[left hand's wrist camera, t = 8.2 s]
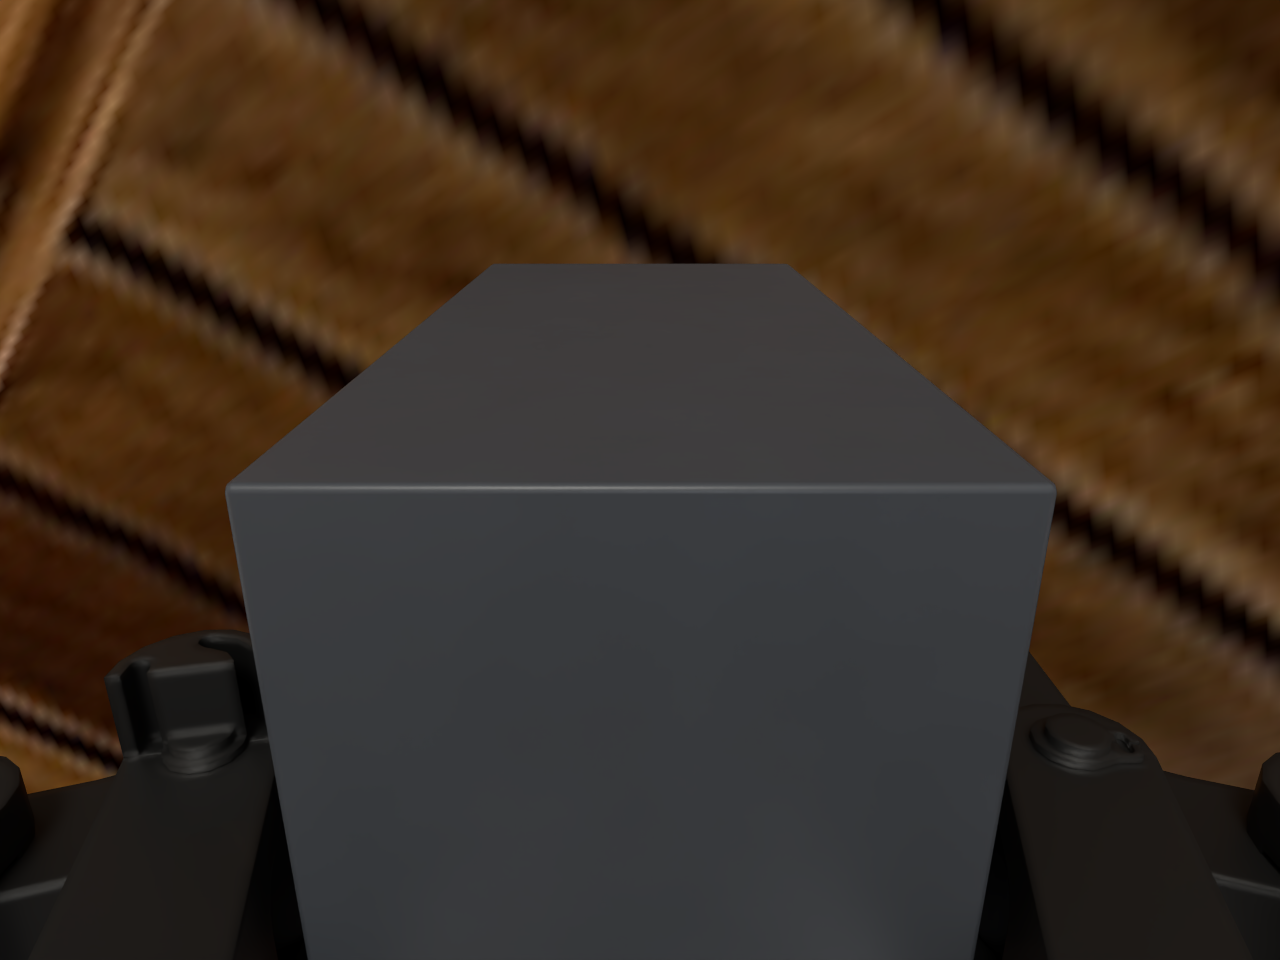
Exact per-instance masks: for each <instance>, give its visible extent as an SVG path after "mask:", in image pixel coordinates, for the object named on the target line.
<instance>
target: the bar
mask: <svg viewBox="0 0 1280 960" xmlns="http://www.w3.org/2000/svg"><path fill="white" fill-rule="evenodd" d="M1056 494H1057V491H1056V487H1055V484H1054V483H1053V482H1051V481H1050V480H1049V479H1048V478H1047V477H1045V476H1044V475H1043V474H1042V473H1041V472H1039V471H1038V470H1037V469H1036V468H1034V467H1033V466H1032V465H1031V464H1030V463H1028V462H1027V461H1026V460H1025V459H1024V458H1022V457H1021V456H1020V455H1019V454H1017V453H1016V452H1015V451H1014V450H1013V449H1011V448H1010V447H1009V446H1008V445H1007V444H1005V443H1004V442H1003V441H1002V440H1000V439H999V438H998V437H997V436H996V435H994V434H993V433H992V432H991V431H990V430H988V429H987V428H986V427H985V426H984V425H982V424H981V423H980V422H979V421H977V420H976V419H975V418H974V417H973V416H971V415H970V414H969V413H968V412H967V411H965V410H964V409H963V408H962V407H960V406H959V405H958V404H957V403H956V402H954V401H953V400H952V399H951V398H950V397H948V396H947V395H946V394H945V393H943V392H942V391H941V390H940V389H939V388H937V387H936V386H935V385H934V384H933V383H931V382H930V381H929V380H928V379H926V378H925V377H924V376H923V375H922V374H920V373H919V372H918V371H917V370H916V369H914V368H913V367H912V366H911V365H909V364H908V363H907V362H906V361H905V360H903V359H902V358H901V357H900V356H899V355H897V354H896V353H895V352H894V351H892V350H891V349H890V348H889V347H888V346H886V345H885V344H884V343H883V342H882V341H880V340H879V339H878V338H877V337H875V336H874V335H873V334H872V333H871V332H869V331H868V330H867V329H866V328H865V327H863V326H862V325H861V324H860V323H858V322H857V321H856V320H855V319H854V318H852V317H851V316H850V315H849V314H848V313H846V312H845V311H844V310H843V309H841V308H840V307H839V306H838V305H837V304H835V303H834V302H833V301H832V300H831V299H829V298H828V297H827V296H826V295H824V294H823V293H822V292H821V291H820V290H818V289H817V288H816V287H815V286H814V285H812V284H811V283H810V282H809V281H807V280H806V279H805V278H804V277H803V276H801V275H800V274H799V273H798V272H797V271H795V270H794V269H793V268H792V267H790V266H789V265H787V264H493V265H491V266H490V267H489V268H487V269H486V270H485V271H484V272H483V273H481V274H480V275H479V276H478V277H477V278H475V279H474V280H473V281H472V282H471V283H469V284H468V285H467V286H466V287H465V288H463V289H462V290H461V291H460V292H459V293H457V294H456V295H455V296H454V297H452V298H451V299H450V300H449V301H448V302H446V303H445V304H444V305H443V306H442V307H440V308H439V309H438V310H437V311H436V312H434V313H433V314H432V315H431V316H430V317H428V318H427V319H426V320H425V321H423V322H422V323H421V324H420V325H419V326H417V327H416V328H415V329H414V330H413V331H411V332H410V333H409V334H408V335H407V336H405V337H404V338H403V339H402V340H401V341H399V342H398V343H397V344H396V345H395V346H393V347H392V348H391V349H390V350H388V351H387V352H386V353H385V354H384V355H382V356H381V357H380V358H379V359H378V360H376V361H375V362H374V363H373V364H372V365H370V366H369V367H368V368H367V369H366V370H364V371H363V372H362V373H361V374H360V375H358V376H357V377H356V378H355V379H353V380H352V381H351V382H350V383H349V384H347V385H346V386H345V387H344V388H343V389H341V390H340V391H339V392H338V393H337V394H335V395H334V396H333V397H332V398H331V399H329V400H328V401H327V402H326V403H324V404H323V405H322V406H321V407H320V408H318V409H317V410H316V411H315V412H314V413H312V414H311V415H310V416H309V417H308V418H306V419H305V420H304V421H303V422H302V423H300V424H299V425H298V426H297V427H296V428H294V429H293V430H292V431H291V432H289V433H288V434H287V435H286V436H285V437H283V438H282V439H281V440H280V441H279V442H277V443H276V444H275V445H274V446H273V447H271V448H270V449H269V450H268V451H267V452H265V453H264V454H263V455H262V456H261V457H259V458H258V459H257V460H256V461H254V462H253V463H252V464H251V465H250V466H248V467H247V468H246V469H245V470H244V471H242V472H241V473H240V474H239V475H238V476H236V477H235V478H234V479H233V480H232V481H230V482H229V483H228V484H227V486H226V490H225V495H226V501H227V507H228V512H229V518H230V523H231V529H232V535H233V540H234V546H235V552H236V557H237V563H238V569H239V574H240V580H241V586H242V591H243V597H244V602H245V608H246V614H247V619H248V625H249V631H250V636H251V642H252V648H253V653H254V659H255V665H256V670H257V676H258V681H259V687H260V693H261V698H262V704H263V710H264V715H265V721H266V727H267V732H268V738H269V744H270V749H271V755H272V760H273V766H274V772H275V777H276V783H277V789H278V794H279V800H280V806H281V811H282V817H283V823H284V828H285V834H286V839H287V845H288V851H289V856H290V862H291V868H292V873H293V879H294V885H295V890H296V896H297V902H298V907H299V913H300V918H301V924H302V930H303V935H304V941H305V947H306V952H307V958H308V960H974V954H975V949H976V943H977V938H978V932H979V926H980V921H981V915H982V910H983V904H984V898H985V893H986V887H987V881H988V876H989V870H990V865H991V859H992V853H993V848H994V842H995V837H996V831H997V825H998V820H999V814H1000V809H1001V803H1002V797H1003V792H1004V786H1005V780H1006V775H1007V769H1008V764H1009V758H1010V752H1011V747H1012V741H1013V736H1014V730H1015V724H1016V719H1017V713H1018V708H1019V702H1020V696H1021V691H1022V685H1023V679H1024V674H1025V668H1026V663H1027V657H1028V651H1029V646H1030V640H1031V635H1032V629H1033V623H1034V618H1035V612H1036V607H1037V601H1038V595H1039V590H1040V584H1041V578H1042V573H1043V567H1044V562H1045V556H1046V550H1047V545H1048V539H1049V534H1050V528H1051V522H1052V517H1053V511H1054V505H1055V500H1056Z"/></svg>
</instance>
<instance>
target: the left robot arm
mask: <svg viewBox="0 0 1280 960" xmlns="http://www.w3.org/2000/svg"><path fill="white" fill-rule="evenodd" d="M104 681H105V685H106V689H107V693H108V697H109V701H110V705H111V709H112V713H113V717H114V721H115V725H116V729H117V733H118V737H119V741H120V745H121V749H122V753H123V757H124V759H123V761H122V763H121V765H120V767H119V770H118V772H117V774H116V775H114V776H111V777H107V778H103V779H99V780H95V781H90V782H85V783H80V784H76V785H71V786H66V787H61V788H56V789H51V790H46V791H41V792H36V793H31V794H27V792H26V788H25V785H24V782H23V778H22V775H21V772H20V768H19V767H18V766H17V765H15V764H14V763H13V762H12V761H10V760H9V759H8V758H7V757H3V756H0V960H308V958H307V952H306V947H305V941H304V935H303V930H302V924H301V918H300V913H299V907H298V902H297V896H296V890H295V885H294V879H293V873H292V868H291V862H290V856H289V851H288V845H287V839H286V834H285V828H284V823H283V817H282V811H281V806H280V800H279V794H278V789H277V783H276V777H275V772H274V766H273V760H272V755H271V749H270V744H269V738H268V732H267V727H266V721H265V715H264V710H263V704H262V698H261V693H260V687H259V681H258V676H257V670H256V665H255V659H254V653H253V648H252V642H251V636H250V633H245V632H241V631H237V630H203V631H198V632H192V633H187V634H182V635H177V636H173V637H170V638H167V639H164V640H162V641H159V642H156V643H153V644H151V645H148V646H145V647H143V648H141V649H140V650H138V651H136V652H135V653H133V654H131V655H130V656H128V657H126V658H124V659H123V660H121V661H119V662H118V664H117V665H116V666H115V667H114V668H113V669H112V670H111V671H110V672H109V673H108V674H107V675H106V676H105V677H104ZM974 960H1280V752H1279V753H1275V754H1274V755H1273V756H1272V757H1270V758H1269V759H1268V760H1267V761H1265V762H1264V763H1263V764H1262V768H1261V771H1260V774H1259V778H1258V781H1257V784H1256V788H1255V790H1250V789H1245V788H1240V787H1235V786H1230V785H1225V784H1220V783H1215V782H1210V781H1205V780H1200V779H1195V778H1190V777H1185V776H1181V775H1178V774H1174V773H1170V772H1166V771H1163V770H1162V768H1161V766H1160V764H1159V762H1158V760H1157V758H1156V756H1155V755H1154V754H1153V752H1152V751H1151V750H1150V749H1149V747H1148V746H1147V745H1146V744H1145V742H1144V741H1143V740H1142V739H1141V738H1140V737H1138V736H1137V735H1135V734H1134V733H1133V732H1131V731H1130V730H1128V729H1127V728H1125V727H1124V726H1122V725H1121V724H1120V723H1118V722H1115V721H1113V720H1111V719H1108V718H1106V717H1104V716H1101V715H1099V714H1097V713H1094V712H1092V711H1089V710H1084V709H1080V708H1075V707H1071V706H1070V705H1069V703H1068V702H1067V701H1066V700H1065V698H1064V697H1063V696H1062V694H1061V693H1060V692H1059V690H1058V689H1057V688H1056V686H1055V685H1054V684H1053V682H1052V681H1051V680H1050V679H1049V677H1048V676H1047V675H1046V673H1045V672H1044V671H1043V669H1042V668H1041V667H1040V665H1039V664H1038V663H1037V661H1036V660H1035V659H1034V658H1033V656H1032V655H1031V654H1030V652H1029V651H1028V657H1027V663H1026V668H1025V674H1024V679H1023V685H1022V691H1021V696H1020V702H1019V708H1018V713H1017V719H1016V724H1015V730H1014V736H1013V741H1012V747H1011V752H1010V758H1009V764H1008V769H1007V775H1006V780H1005V786H1004V792H1003V797H1002V803H1001V809H1000V814H999V820H998V825H997V831H996V837H995V842H994V848H993V853H992V859H991V865H990V870H989V876H988V881H987V887H986V893H985V898H984V904H983V910H982V915H981V921H980V926H979V932H978V938H977V943H976V949H975V954H974Z"/></svg>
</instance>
